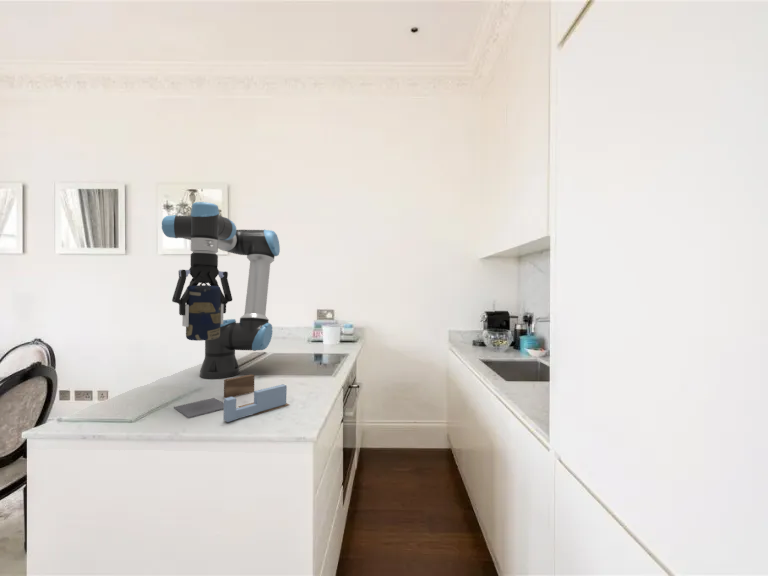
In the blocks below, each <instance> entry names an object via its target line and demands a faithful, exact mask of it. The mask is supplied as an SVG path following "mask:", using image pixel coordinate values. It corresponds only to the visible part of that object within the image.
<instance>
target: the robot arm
mask: <svg viewBox="0 0 768 576" xmlns="http://www.w3.org/2000/svg"><path fill="white" fill-rule="evenodd" d="M161 230H162V233H163V235H165V237H167V238H171V239H184V240H190V251H191V254H190V267H189V269H179V270H178V280H177V283H176V286H175V289H174V292H173V295H172V299H171V301H172V303H176V304H178V314H179V316H182V319H181V320H182V324H181V325H182V327H185V328H186V327H189V305H187V304H186V302H187V301H188V299H189V290H187V288H186V289H185V290H184V287H185V284H186V280H187V277H189V275H190V276H191V277H192V278H191V280H190V281H189V284H188V286H197V285H200V284H201V283H203V284H204V282H205V283H206V284H209V285H210V286H219V283H218V281H217V279H216V278H217V277H219V280H220V284H221V288H222V290H221V323H220V336H219V338H217V339H212V340H204V359H203V361H202V364H201V367H200V370H199V376H200V378H203V379H208V380H209V379H211V380H212V379H227V378H229V377H235V376H236V375H238V374H240V366H239V363H238V360H237V358H236V351H253V352H256V351H264V350H266V349H267V348H268V347H269V345H270V343H271V340H272V336H273V325H272V324H271V323H270V322H269V318H268V317H267V316H266V312H267V302H268V293H269V291H268V290H269V279H270V271H271V268H270V267H271V264H272V263H273V262H274V261H275V257H278V256H280V252H281V251H280V250H281V247H280V246H281V245H280V241H279V237H278V234H277V233H276V232H275V231H274V230H272V229H270V230H269V229H237V225H236V224H235V223H234V221H232V220H230V219H229V218H227V217H226V216H225V217H224V216H223V215H220V211H219V206H218V205H217V204H215V203H211V202H207V201H205V202H204V201H196V202H195V201H194V202H193V203H192V205H191V212H190V215H177V214H174V215H166V216H164V217H163V218H162V220H161ZM219 250H221V251H223V252H228V253H232V254H235V255H240V256H246V258H247V259H248V261H249V268H248V278H247V279H248V280H247V288H246V295H245V297H246V298H245V305H244V306H245V307H244V314H242V316H241V317H240V318H239V322H237V320H236V319H235V318H231V319H228V318H227V319H224V314H226V312H227V304H228V303H229V302H232V301H233V296H232V292H231V288H230V284H229V280H228V279H229V278H228V276H229V273H228V271H221V270H219V269H218V267H219V265H218V264H219V255H218V254H217V253H218V252H219ZM219 287H220V286H219ZM183 291H184V293H183ZM222 291H223V292H222Z"/></svg>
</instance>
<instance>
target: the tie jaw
mask: <svg viewBox="0 0 768 576" xmlns="http://www.w3.org/2000/svg"><path fill="white" fill-rule="evenodd" d="M287 387H288V386H287V384H283V383H282V384H278V385H274V386H269V387H266V388H261V389H257V390H254V392H253V402H254V404H251V405H247V406H243V407H240V408H239V407H237V398H236V397H228V398H224V397H223V403H224V409H223V421H224V422H227V423H229V422H233V421H235V420H237V419H241V418H244V417H246V416H251V415H253V414H255V413H258V412H261V411H264V410H268V409H271V408H275V407H278V406H282V405H285V404H286V403H287Z"/></svg>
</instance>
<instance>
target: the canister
mask: <svg viewBox="0 0 768 576" xmlns="http://www.w3.org/2000/svg"><path fill="white" fill-rule="evenodd" d="M186 289H187V290H189V299H188V301H187V302H186V304H187V305H189V327H185V338H186V339H187V340H189V341H197V342H198V341H201V342H202V341H205V340H212V339H217V338H219V336H220V323H221V291H222V289H221V287H220V286H211V285H210V284H209V285H208V283H205V282H204V283H199V284H198V285H197V286H189V285H188V286H187V287H186Z"/></svg>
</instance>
